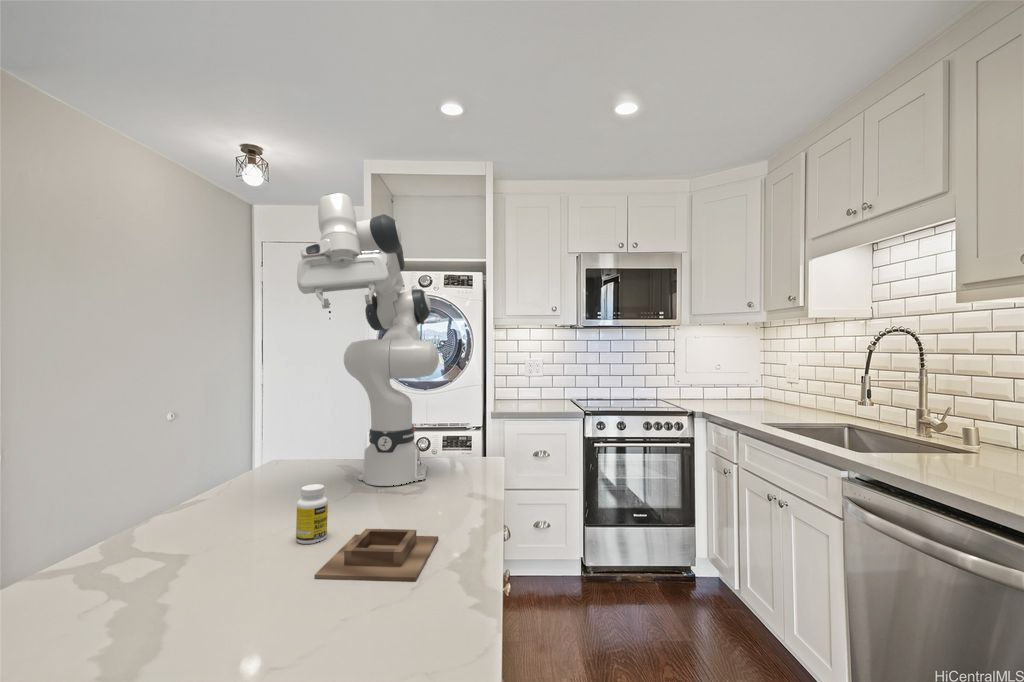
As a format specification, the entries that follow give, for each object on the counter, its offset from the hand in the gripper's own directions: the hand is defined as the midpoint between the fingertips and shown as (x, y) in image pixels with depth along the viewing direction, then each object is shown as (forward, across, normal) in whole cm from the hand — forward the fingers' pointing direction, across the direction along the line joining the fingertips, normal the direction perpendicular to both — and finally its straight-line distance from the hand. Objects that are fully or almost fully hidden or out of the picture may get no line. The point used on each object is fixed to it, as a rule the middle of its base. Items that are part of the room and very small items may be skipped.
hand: (347, 305), depth 106 cm
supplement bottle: (+48, +11, +1) cm, 50 cm away
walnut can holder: (+54, -1, +12) cm, 55 cm away
